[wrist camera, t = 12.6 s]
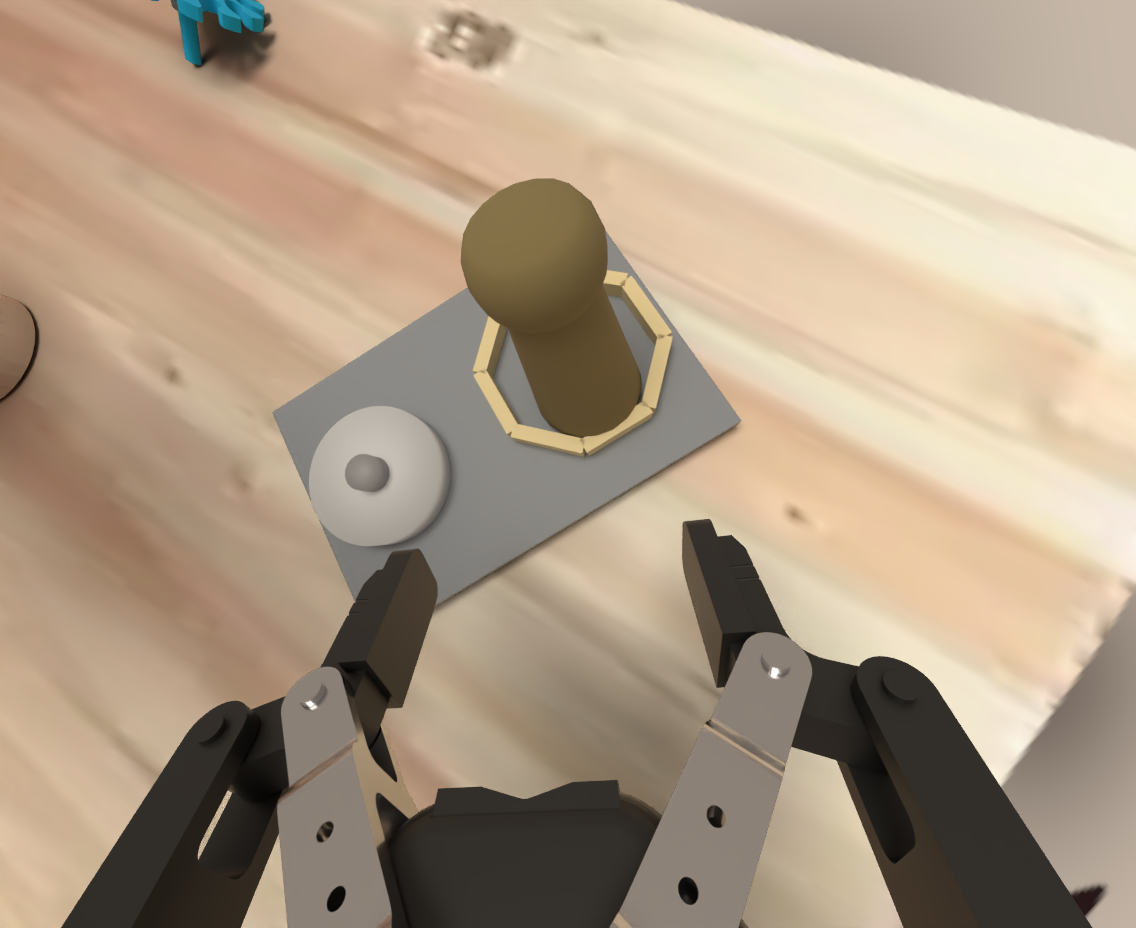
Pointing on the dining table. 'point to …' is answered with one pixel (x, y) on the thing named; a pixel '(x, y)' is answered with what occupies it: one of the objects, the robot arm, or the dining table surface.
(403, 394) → the board
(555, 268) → the cork
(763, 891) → the dining table surface
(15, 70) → the dining table surface
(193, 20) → the blue irregular piece
